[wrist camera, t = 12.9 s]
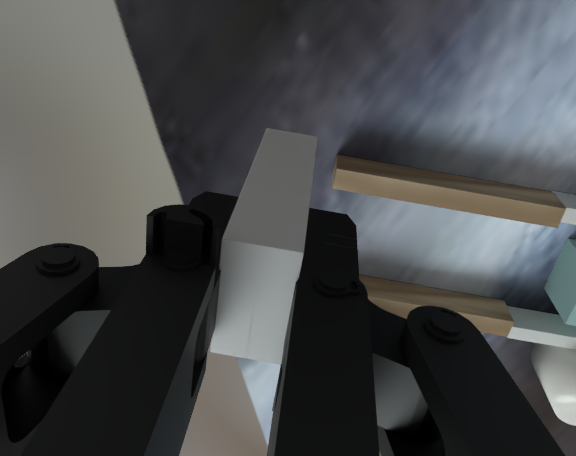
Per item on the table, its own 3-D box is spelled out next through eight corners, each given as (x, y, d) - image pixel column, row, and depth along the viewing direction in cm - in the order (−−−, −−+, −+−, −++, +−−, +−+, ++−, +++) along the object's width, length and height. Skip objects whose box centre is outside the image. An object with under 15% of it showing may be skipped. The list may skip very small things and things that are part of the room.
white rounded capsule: (543, 323, 47) (569, 371, 41) (605, 334, 47) (639, 383, 41) (520, 369, 49) (542, 419, 44) (579, 379, 49) (608, 431, 44)
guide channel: (336, 154, 41) (336, 168, 38) (551, 191, 41) (566, 208, 38) (310, 281, 47) (308, 301, 44) (497, 314, 47) (507, 336, 44)
